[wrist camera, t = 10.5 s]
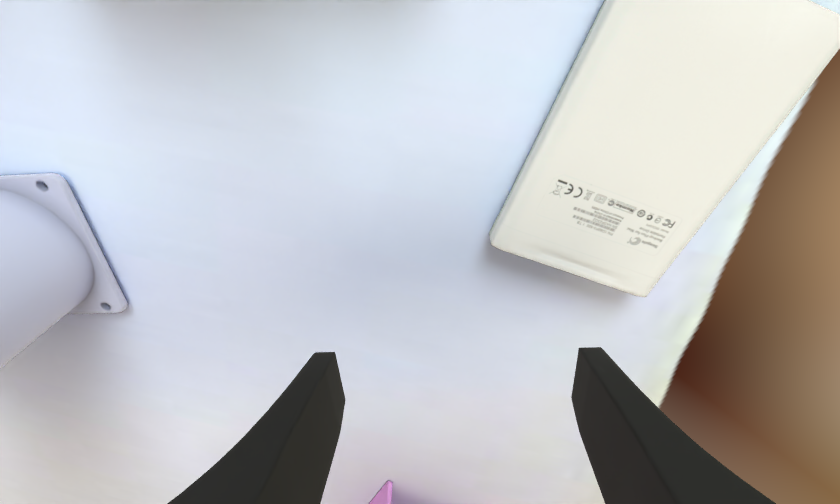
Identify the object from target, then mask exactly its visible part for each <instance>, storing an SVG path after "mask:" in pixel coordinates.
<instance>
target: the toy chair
mask: <svg viewBox="0 0 840 504" xmlns="http://www.w3.org/2000/svg"><path fill="white" fill-rule="evenodd" d="M391 497H392V482H391V481H387V482H386V483H385V485H384V486H383V487H382V488H381V490H380V491H379V492H378V493H377V494H376V496H375V497H374V498H373V499H372V501H371V502H370V503H369V504H391Z"/></svg>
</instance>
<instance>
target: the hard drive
mask: <svg viewBox="0 0 840 504" xmlns="http://www.w3.org/2000/svg"><path fill="white" fill-rule="evenodd" d="M839 48H840V14H838V13H835V12H833V11H831V10H829V9H827V8H825V7H822V6H820V5H818V4H816V3H814V2H812V1H810V0H605V1H604V3H603V5H602V7H601V9H600V11H599V13H598V15H597V17H596V19H595V21H594V23H593V25H592V27H591V29H590V31H589V33H588V35H587V37H586V39H585V42H584V44H583V46H582V48H581V50H580V52H579V54H578V56H577V58H576V60H575V62H574V64H573V66H572V68H571V70H570V72H569V74H568V76H567V78H566V80H565V82H564V84H563V86H562V88H561V90H560V92H559V94H558V96H557V98H556V100H555V102H554V104H553V106H552V108H551V110H550V112H549V114H548V116H547V118H546V120H545V122H544V124H543V126H542V128H541V130H540V132H539V134H538V136H537V138H536V140H535V142H534V145H533V147H532V149H531V151H530V153H529V155H528V157H527V159H526V161H525V163H524V165H523V167H522V169H521V171H520V173H519V175H518V177H517V179H516V181H515V183H514V185H513V187H512V189H511V191H510V193H509V195H508V197H507V199H506V201H505V203H504V205H503V207H502V209H501V211H500V213H499V215H498V216H497V218H496V220H495V222H494V225H493V227H492V228H491V230H490V232H489V236H490V241H491V245H492V246H494V247H496V248H498V249H500V250H502V251H505V252H508V253H512V254H515V255H517V256H520V257H523V258H526V259H530V260H533V261H536V262H539V263H542V264H545V265H548V266H550V267H553V268H556V269H559V270H562V271H565V272H568V273H571V274H574V275H577V276H580V277H583V278H586V279H589V280H591V281H594V282H598V283H600V284H603V285H606V286H609V287H612V288H615V289H618V290H621V291H624V292H627V293H630V294H632V295H635V296H640V297H646V296H647V295H648V293H649V292H650V291H651V290H652V288H653V287H654V286H655V285H656V283H657V282H658V281H659V279H660V278H661V276H662V275H663V274H664V273H665V271H666V270H667V269H668V268H669V266H670V265H671V264H672V263H673V261H674V260H675V259H676V257H677V256H678V255H679V254H680V252H681V251H682V250H683V249H684V247H685V246H686V245H687V244H688V242H689V241H690V240H691V238H692V237H693V236H694V235H695V234H696V232H697V231H698V230H699V228H700V227H701V226H702V225H703V223H704V222H705V221H706V219H707V218H708V217H709V215H710V214H711V213H712V212H713V210H714V209H715V208H716V206H717V205H718V204H719V203H720V201H721V200H722V199H723V197H724V196H725V195H726V194H727V192H728V191H729V190H730V189H731V187H732V186H733V185H734V183H735V182H736V181H737V180H738V178H739V177H740V176H741V174H742V173H743V172H744V171H745V169H746V168H747V167H748V165H749V164H750V163H751V162H752V160H753V159H754V158H755V156H756V155H757V154H758V153H759V151H760V150H761V149H762V148H763V146H764V145H765V144H766V142H767V141H768V140H769V139H770V137H771V136H772V135H773V134H774V132H775V131H776V130H777V129H778V127H779V126H780V125H781V124H782V122H783V121H784V120H785V118H786V117H787V116H788V114H789V113H790V112H791V111H792V109H793V108H794V107H795V105H796V104H797V103H798V101H799V100H800V99H801V98H802V96H803V95H804V94H805V93H806V91H807V90H808V89H809V87H810V86H811V85H812V83H813V82H814V81H815V79H816V78H817V77H818V76H819V74H820V73H821V72H822V70H823V69H824V68H825V67H826V65H827V64H828V63H829V61H830V60H831V59H832V58H833V56H834V55H835V54H836V52H837V51H838V50H839Z"/></svg>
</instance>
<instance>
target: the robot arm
mask: <svg viewBox="0 0 840 504" xmlns="http://www.w3.org/2000/svg"><path fill="white" fill-rule="evenodd" d="M43 182H44V183H45V184H46V185H47V187H46V186H45V185H44V184H43ZM108 304H109V305H108ZM127 306H128V304H127V301H126V299H125V297H124V295H123V293H122V291H121V289H120V287H119V285H118V283H117V281H116V279H115V277H114V275H113V273H112V271H111V269H110V267H109V265H108V263H107V261H106V259H105V257H104V255H103V253H102V251H101V249H100V247H99V245H98V243H97V241H96V239H95V237H94V235H93V233H92V231H91V229H90V227H89V225H88V223H87V221H86V219H85V217H84V215H83V213H82V211H81V209H80V207H79V205H78V203H77V201H76V199H75V197H74V195H73V193H72V191H71V189H70V187H69V185H68V183H67V181H66V180H65V178H63V177H62V176H61V175H59V174H56V173H43V174H23V175H4V176H0V369H1V368H2V367H3V366H4V365H5V364H7V363H8V362H9V361H10V360H12V359H13V358H14V357H15V356H16V355H18V354H19V353H20V352H21V351H22V350H24V349H25V348H26V347H27V346H29V345H30V344H31V343H32V342H33V341H35V340H36V339H37V338H38V337H39V336H41V335H42V334H43V333H44V332H46V331H47V330H48V329H49V328H50V327H52V326H53V325H54V324H55V323H56V322H58V321H59V320H60V319H61V318H62V317H64V316H65V315H66V314H98V313H121V312H123V311H124V310H125V309H126V308H127ZM571 398H572V402H573V407H574V411H575V416H576V420H577V424H578V428H579V432H580V435H581V438H582V440H583V443H584V446H585V449H586V452H587V454H588V457H589V460H590V463H591V465H592V468H593V471H594V474H595V476H596V479H597V482H598V485H599V487H600V490H601V493H602V496H603V498H604V501H605V504H776V503H774V502H773V501H771V500H770V499H769V498H767V497H766V496H764V495H763V494H762V493H760V492H759V491H757V490H756V489H755V488H753V487H752V486H750V485H749V484H748V483H746V482H745V481H743V480H742V479H740V478H739V477H738V476H737V475H735V474H734V473H733V472H731V471H730V470H729V469H727V468H726V467H725V466H723V465H722V464H721V463H720V462H718V461H717V460H716V459H715V458H714V457H712V456H711V455H710V454H709V453H707V452H706V451H705V450H704V449H703V448H701V447H700V446H699V445H698V444H696V443H695V442H694V441H693V440H692V439H691V438H690V437H689V436H687V435H686V434H685V433H684V432H683V431H682V430H681V429H680V428H679V427H678V426H677V425H675V424H674V423H673V422H672V421H671V420H670V419H669V418H668V417H667V416H666V415H665V414H664V413H663V412H662V411H661V410H660V409H659V408H658V407H657V406H656V405H655V404H654V403H653V402H652V401H651V400H650V399H649V398H648V397H647V396H646V395H645V394H644V393H643V392H642V391H641V390H640V389H639V388H638V387H637V386H636V385H635V384H634V383H633V382H632V381H631V380H630V379H629V377H628V376H627V375H626V374H625V373H624V372H623V371H622V370H621V369H620V368H619V367H618V365H617V364H616V363H615V362H614V361H613V360H612V359H611V358H610V357H609V355H608V354H607V353H606V352H605V351H604V350H603V349H602V348H601V347H597V348H579V352H578V358H577V365H576V371H575V378H574V384H573V391H572V397H571ZM344 405H345V396H344V392H343V387H342V382H341V378H340V373H339V369H338V364H337V360H336V355H335V352H319V353H314V354H313V355H312V357H311V358H310V359H309V360H308V362H307V363H306V364H305V366H304V367H303V368H302V369H301V371H300V372H299V373H298V375H297V376H296V377H295V378H294V380H293V381H292V382H291V383H290V385H289V386H288V387H287V388H286V390H285V391H284V392H283V393H282V394H281V396H280V397H279V398H278V399H277V400H276V401H275V403H274V404H273V405H272V406H271V407H270V409H269V410H268V411H267V412H266V413H265V414H264V415H263V416H262V418H261V419H260V420H259V421H258V422H257V423H256V424H255V425H254V426H253V427H252V428H251V430H250V431H249V432H248V433H247V434H246V435H245V436H244V437H243V438H242V439H241V440H240V441H239V442H238V443H237V444H236V445H235V446H234V447H233V448H232V449H231V450H230V451H229V452H228V453H227V454H226V455H225V456H223V457H222V458H221V459H220V460H219V461H218V462H217V463H216V464H215V465H214V466H213V467H211V468H210V469H209V470H208V471H207V472H206V473H205V474H203V475H202V476H201V477H200V478H199V479H197V480H196V481H195V482H194V483H193V484H192V485H190V486H189V487H188V488H187V489H186V490H184V491H183V492H182V493H181V494H179V495H178V496H177V497H176V498H174V499H173V500H172V501H170V502H169V503H168V504H320V502H321V499H322V495H323V492H324V488H325V485H326V481H327V478H328V474H329V471H330V467H331V464H332V460H333V457H334V453H335V449H336V446H337V442H338V439H339V435H340V430H341V424H342V418H343V412H344Z"/></svg>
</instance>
